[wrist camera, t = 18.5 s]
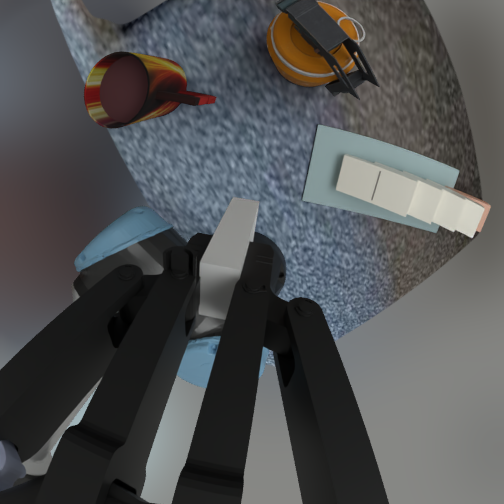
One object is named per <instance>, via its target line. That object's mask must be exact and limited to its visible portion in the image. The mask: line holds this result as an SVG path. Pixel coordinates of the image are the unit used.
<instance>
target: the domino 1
mask: <svg viewBox="0 0 504 504" xmlns="http://www.w3.org/2000/svg"><path fill="white" fill-rule="evenodd" d="M417 183H418V180H417V179H414V178H412V177H409V176H407V175H404V174H402V173H399V172H397V171H394V170H392V169H389V168H386V167H384V166H381V165H378V164H375V163H373V162H370V161H367V160H364V159H361V158H358V157H355V156H352V155H349V154H345V155H344V158H343V162H342V166H341V170H340V174H339V178H338V182H337V186H336V190H337V191H340V192H343V193H345V194H348V195H351V196H353V197H356V198H359V199H361V200H364V201H367V202H369V203H372V204H374V205H377V206H379V207H382V208H384V209H387V210H389V211H392V212H394V213H397V214H399V215H401V216H404V217H406V215H407V212H408V210H409V207H410V204H411V201H412V198H413V195H414V192H415V189H416V186H417Z"/></svg>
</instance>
